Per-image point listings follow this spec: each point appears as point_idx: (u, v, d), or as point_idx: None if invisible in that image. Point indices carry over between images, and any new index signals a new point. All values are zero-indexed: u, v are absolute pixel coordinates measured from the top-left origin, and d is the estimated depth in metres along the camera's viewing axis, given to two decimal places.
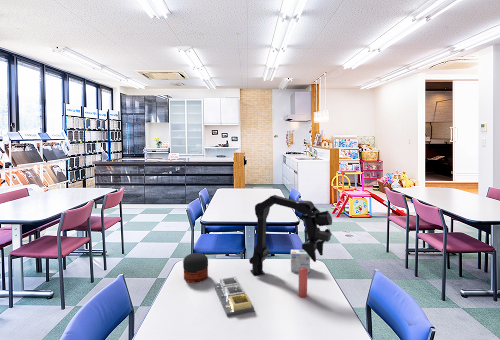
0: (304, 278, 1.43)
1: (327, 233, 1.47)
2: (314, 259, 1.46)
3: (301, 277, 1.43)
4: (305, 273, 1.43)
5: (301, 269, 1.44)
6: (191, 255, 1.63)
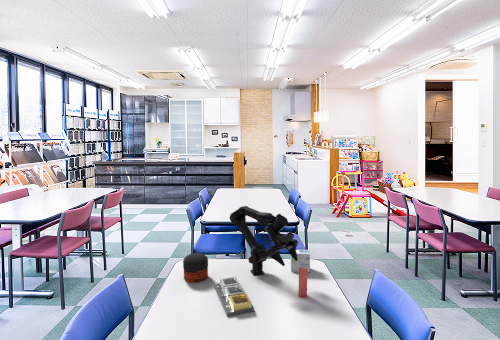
0: (304, 278, 1.43)
1: None
2: (282, 263, 1.48)
3: (301, 277, 1.43)
4: (305, 273, 1.43)
5: (301, 269, 1.44)
6: (191, 255, 1.63)
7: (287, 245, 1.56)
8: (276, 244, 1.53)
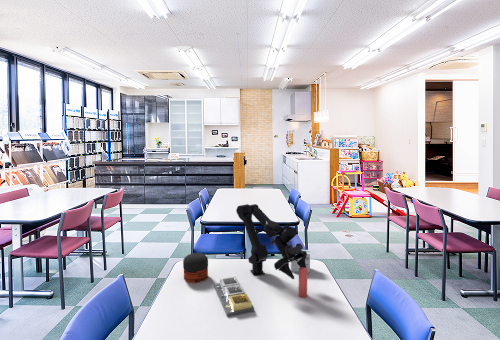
0: (304, 278, 1.43)
1: (296, 246, 1.47)
2: (291, 276, 1.43)
3: (301, 277, 1.43)
4: (305, 273, 1.43)
5: (301, 269, 1.44)
6: (191, 255, 1.63)
7: (296, 257, 1.52)
8: (285, 256, 1.49)
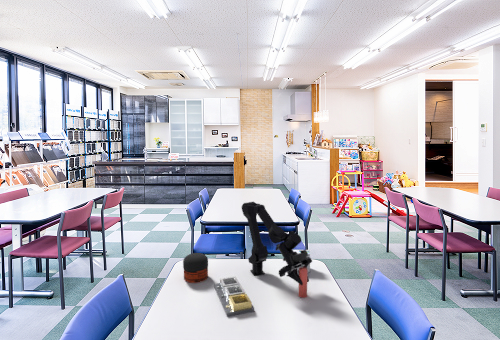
0: (304, 278, 1.43)
1: (301, 253, 1.45)
2: (300, 282, 1.43)
3: (301, 277, 1.43)
4: (305, 273, 1.43)
5: (301, 269, 1.44)
6: (191, 255, 1.63)
7: (301, 264, 1.50)
8: (289, 263, 1.47)
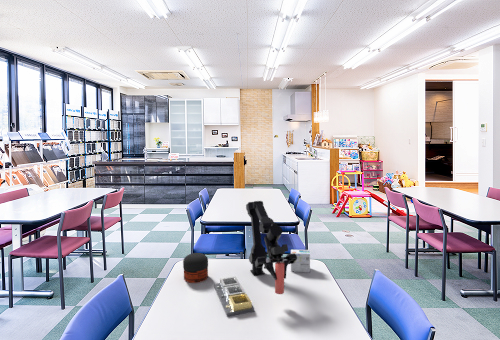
0: (278, 273, 1.34)
1: (279, 246, 1.36)
2: (274, 276, 1.35)
3: (276, 271, 1.35)
4: (280, 268, 1.34)
5: (277, 263, 1.35)
6: (191, 255, 1.63)
7: None
8: (269, 255, 1.40)
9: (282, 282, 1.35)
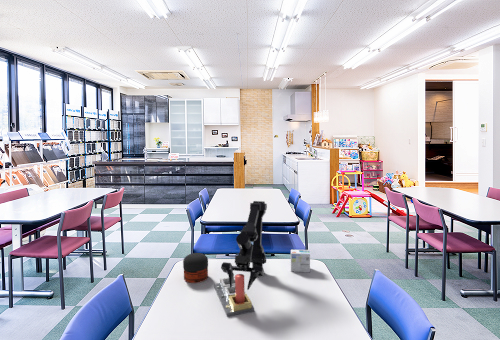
0: (236, 285, 1.33)
1: (241, 256, 1.34)
2: None
3: (235, 283, 1.34)
4: (237, 280, 1.32)
5: (237, 275, 1.34)
6: (191, 255, 1.63)
7: (250, 269, 1.37)
8: None
9: (240, 295, 1.32)
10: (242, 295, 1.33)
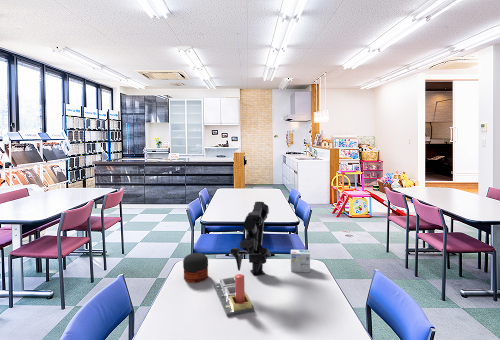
0: (236, 285, 1.32)
1: (246, 240, 1.43)
2: None
3: (235, 283, 1.34)
4: (237, 281, 1.32)
5: (237, 275, 1.34)
6: (191, 255, 1.63)
7: (256, 252, 1.45)
8: None
9: (240, 295, 1.32)
10: (242, 295, 1.33)
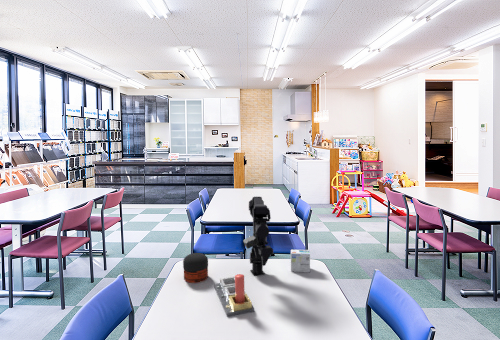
0: (236, 285, 1.33)
1: (246, 240, 1.49)
2: None
3: (235, 283, 1.34)
4: (237, 280, 1.32)
5: (237, 275, 1.34)
6: (191, 255, 1.63)
7: None
8: None
9: (240, 295, 1.32)
10: (242, 295, 1.33)
